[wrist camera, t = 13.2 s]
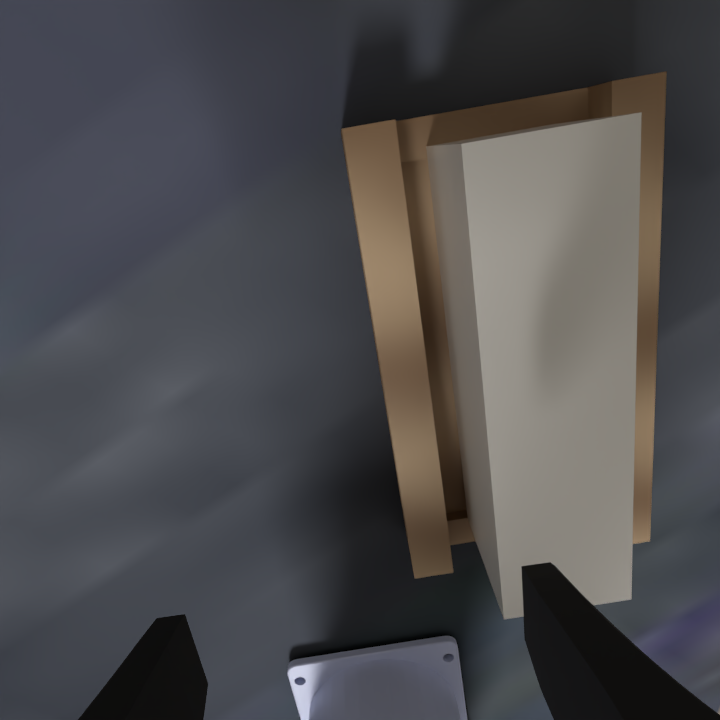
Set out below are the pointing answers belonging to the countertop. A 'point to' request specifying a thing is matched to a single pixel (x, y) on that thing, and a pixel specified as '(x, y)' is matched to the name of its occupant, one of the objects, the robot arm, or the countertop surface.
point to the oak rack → (425, 298)
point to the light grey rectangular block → (544, 345)
